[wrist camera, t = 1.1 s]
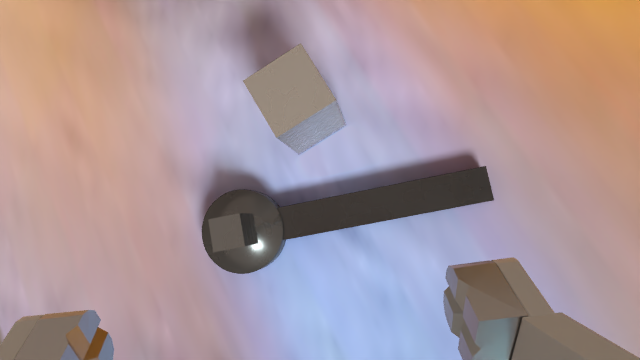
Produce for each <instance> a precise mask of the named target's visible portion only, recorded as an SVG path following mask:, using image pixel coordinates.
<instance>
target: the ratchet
mask: <svg viewBox="0 0 640 360" xmlns="http://www.w3.org/2000/svg"><path fill="white" fill-rule="evenodd" d="M492 200H494V198H493V194H492V190H491V186H490V182H489V177H488V173H487V169H486V166H484V167H479V168H474V169H469V170H464V171H459V172H454V173H449V174H444V175H439V176H434V177H429V178H424V179H419V180H414V181H409V182H404V183H399V184H394V185H389V186H384V187H379V188H374V189H369V190H364V191H359V192H354V193H349V194H344V195H339V196H334V197H329V198H324V199H319V200H314V201H309V202H304V203H299V204H294V205H289V206H284V207H279V205H278V204H277V203H276V202H275V201H274V200H273V199H271V198H270V197H269V196H267V195H265V194H263V193H260V192H256V191H251V190H234V191H231V192H228V193H226V194H224V195H222V196H220V197H219V198H218V199H217V200H215V202H214V203H213V204H212V205H211V206H210V207H209V209H208V211H207V213H206V215H205V217H204V221H203V226H202V239H203V244H204V247H205V249H206V251H207V253H208V255H209V257H210V258H211V259H212V260H213V261H214V263H216V264H217V265H218V266H219V267H221V268H222V269H224V270H226V271H229V272H232V273H238V274H245V273H251V272H254V271H257V270H259V269H262V268H264V267H266V266H268V265H269V264H271V263H272V262H273V261H274V260H275V259H276V258H277V257H278V256H279V254H280V253H281V251H282V249H283V247H284V245H285V241H286V239H291V238H296V237H302V236H307V235H312V234H317V233H323V232H328V231H333V230H339V229H344V228H349V227H354V226H360V225H365V224H370V223H376V222H381V221H386V220H391V219H397V218H402V217H407V216H413V215H418V214H423V213H428V212H434V211H439V210H444V209H450V208H455V207H460V206H465V205H471V204H476V203H481V202H487V201H492Z"/></svg>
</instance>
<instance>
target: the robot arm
mask: <svg viewBox="0 0 640 360" xmlns="http://www.w3.org/2000/svg"><path fill="white" fill-rule="evenodd" d="M446 280H447V282H448V285H449V287H448V288H447V289H446V290H445V291H444V301H443V302H444V310H445V315H446V319H447V322H448V325H449V327H450V330H451V332H452V333H454V334H455V335H456V336H458V337H459V338H460V339H459V346H458V350H459V352H460V354H461V357H462V359H463V360H640V358H638V357H637V356H635V355H633V354H631V353H630V352H628V351H626V350H625V349H623V348H621V347H620V346H618V345H616V344H614V343H613V342H611V341H609V340H608V339H606V338H604V337H602V336H601V335H599V334H597V333H596V332H594V331H592V330H591V329H589V328H587V327H585V326H584V325H582V324H580V323H579V322H577V321H575V320H573V319H572V318H570V317H568V316H567V315H565V314H563V313H554V311H553V310H552V309H551V307H550V306H549V304H548V303H547V301H546V300H545V299H544V297H543V296H542V294H541V293H540V291H539V290H538V288H537V287H536V286H535V284H534V283H533V281H532V280H531V278H530V277H529V276H528V274H527V273H526V271H525V270H524V268H523V267H522V266H521V264H520V263H519V261H518V260H517V259H515V258H506V259H498V260H492V261H482V262H474V263H467V264H459V265H451V266H448V268H447V270H446ZM100 321H101V319H100V318H99V316H98V315H97V313H96V312H95V310H84V311H74V312H63V313H53V314H45V315H36V316H26V317H22V318H21V319H20V320H18V321H17V322H15V324H14V325H13V327H12V328H11V330H10V331H9V333H8V335H7V336H6V338H5V339H4V341H3V342H2V344H1V345H0V360H113V353H114V347H113V343H112V339H111V337H110V335H109V333H108V332H106V331H104V330H102V329H101V328H99V327H98V325H99V323H100Z"/></svg>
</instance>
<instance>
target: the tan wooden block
mask: <svg viewBox="0 0 640 360" xmlns="http://www.w3.org/2000/svg"><path fill="white" fill-rule="evenodd" d="M243 82H244V83H245V85H246V87H247V89H248V90H249V92H250V94H251V95H252V97H253V99H254V100H255V102H256V104H257V106H258V107H259V109H260V111H261V112H262V114H263V116H264V117H265V119H266V121H267V123H268V124H269V126H270V128H271V129H272V131H273V133H274V134H275V136H276V138H277V139H279V140H280V141H281V142H283V143H284V144H286V145H287V146H288V147H290V148H291V149H292V150H294V151H295V152H296V153H298V154H300V153H302V152H304V151H305V150H307V149H308V148H310V147H312V146H313V145H315V144H316V143H318V142H320V141H321V140H323V139H324V138H326V137H328V136H329V135H331V134H332V133H334V132H336V131H337V130H339V129H340V128H342V127H344V126H345V125H346V123H345V121H344V118H343V116H342V113H341V111H340V108H339V106H338V103H337V101H336V99H335V97H334V96H333V94H332V93H331V91H330V89H329V88H328V86H327V85H326V83H325V81H324V80H323V78H322V77H321V75H320V73H319V72H318V70H317V69H316V67H315V65H314V64H313V62H312V61H311V59H310V57H309V56H308V54H307V53H306V51H305V49H304V48H303V46H302V45H301V43H300V44H299V45H297V46H296V47H294V48H293V49H291V50H290V51H288V52H287V53H285V54H284V55H282V56H280V57H279V58H277V59H276V60H274V61H273V62H271V63H270V64H268V65H267V66H265V67H264V68H262V69H260V70H259V71H257V72H256V73H254V74H253V75H251V76H250V77H248V78H247V79H245V80H244V81H243Z"/></svg>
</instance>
